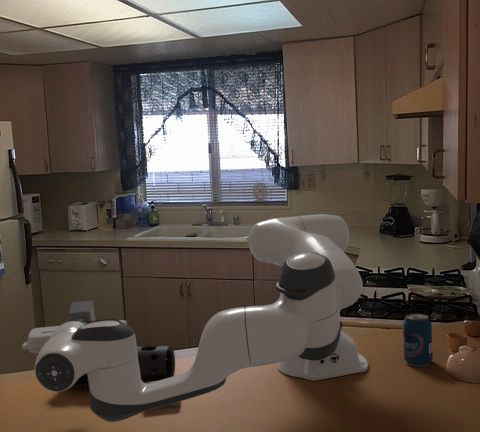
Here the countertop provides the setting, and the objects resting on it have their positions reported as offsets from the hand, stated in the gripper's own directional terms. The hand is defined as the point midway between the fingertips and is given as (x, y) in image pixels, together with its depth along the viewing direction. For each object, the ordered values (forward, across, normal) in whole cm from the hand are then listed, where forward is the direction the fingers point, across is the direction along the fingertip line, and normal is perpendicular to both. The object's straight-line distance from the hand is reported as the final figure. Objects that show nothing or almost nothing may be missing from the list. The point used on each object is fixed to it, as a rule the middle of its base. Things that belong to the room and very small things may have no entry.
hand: (84, 325), depth 130 cm
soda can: (+8, +80, -20) cm, 83 cm away
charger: (+1, 0, -7) cm, 7 cm away
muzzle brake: (+12, +4, -20) cm, 23 cm away
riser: (0, +16, -19) cm, 25 cm away
